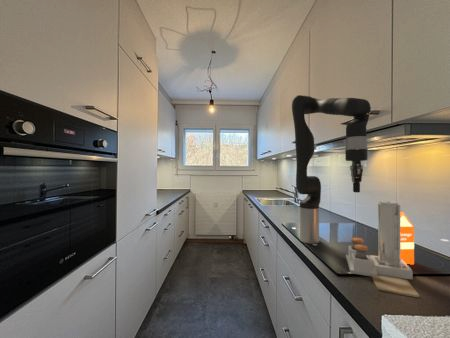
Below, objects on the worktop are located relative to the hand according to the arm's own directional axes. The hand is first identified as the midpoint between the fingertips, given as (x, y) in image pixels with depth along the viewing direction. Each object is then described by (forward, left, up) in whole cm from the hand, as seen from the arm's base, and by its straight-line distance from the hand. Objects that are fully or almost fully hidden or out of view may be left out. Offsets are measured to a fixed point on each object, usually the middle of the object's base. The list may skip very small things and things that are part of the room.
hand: (356, 192), depth 88 cm
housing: (+5, +6, -28) cm, 29 cm away
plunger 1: (0, 0, -24) cm, 24 cm away
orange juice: (-7, +15, -28) cm, 32 cm away
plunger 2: (+9, 0, -24) cm, 25 cm away
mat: (+17, +8, -28) cm, 33 cm away
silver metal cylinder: (+5, +10, -28) cm, 30 cm away
